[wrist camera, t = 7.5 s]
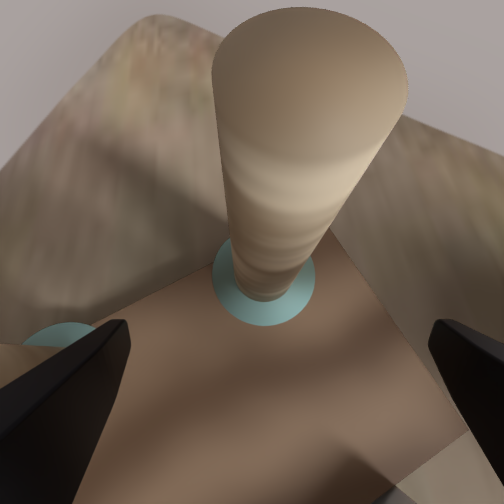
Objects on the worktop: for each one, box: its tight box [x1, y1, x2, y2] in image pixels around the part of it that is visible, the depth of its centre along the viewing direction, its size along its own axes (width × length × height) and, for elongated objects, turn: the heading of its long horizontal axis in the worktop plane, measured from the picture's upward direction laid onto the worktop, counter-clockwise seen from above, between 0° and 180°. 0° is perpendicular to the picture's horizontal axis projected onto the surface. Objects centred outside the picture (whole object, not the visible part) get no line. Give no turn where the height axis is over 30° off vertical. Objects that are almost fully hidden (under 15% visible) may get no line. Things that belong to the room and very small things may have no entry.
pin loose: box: [212, 7, 408, 302], centre depth 11 cm, size 3×3×13 cm
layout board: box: [21, 227, 469, 504], centre depth 16 cm, size 15×20×1 cm
